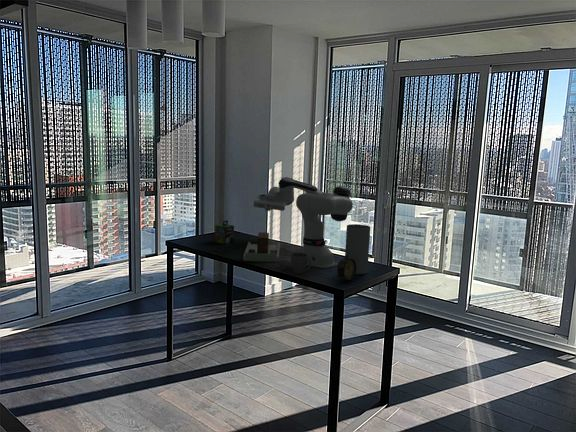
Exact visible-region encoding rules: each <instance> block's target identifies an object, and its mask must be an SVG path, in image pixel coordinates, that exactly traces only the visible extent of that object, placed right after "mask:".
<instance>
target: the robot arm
mask: <svg viewBox="0 0 576 432" xmlns="http://www.w3.org/2000/svg"><path fill="white" fill-rule="evenodd" d="M295 189H296V190H301V191H303V192H305V193H300V194H299V195H297V197H296V199H295ZM350 195H351V191H350V188H349V187H347V186H343V185H339V186H335V187H334V188H333V193H330V192H326V191H325V192H324V191H321V190H320V189H319V188H318V187H317V186H315V185H312V184H310V183H307V182H303V181H299V180H296V179H293V178H291V177H288V176H285V177H282V178H281V179H280V180H279V181H278V186H273V187H271V188H270V189H269V191H268V192H267V193H264V194H258V196H257V197H256V198H255V199H254V201H253V207H254V208H259V209H264V211H267V212H270V211H272V210H274V211H275V210H276V211H285V210H286V208H285V207H286V206H290V205H291V204H293V203H294V201H295V205H296V208H297V209H298V210H299V212H300V214H301V216H302V219H303V237H302V243H303V246H302V251H301V253H305V254H307V255H308V259H310V260H311V267H315V268H321V269H330V268H333V267H338V264H339V262H337V261H335V256H334V253H333V252H332V251H331V249H329V247H328V246H327V245H326V242H328V240H327V239H326V240H325V238H324V229H325V228H324V227H325V225H324V222H323V221H322V220H321V218H320V217H319V216H330V218H331V219H332V220H334V221H335V222H343V221H346V220H347V218H348V214H349V213H350V212H351V211H352V210H353V207H354V204H353V200H351V197H350ZM306 266H309V262H307V265H306Z"/></svg>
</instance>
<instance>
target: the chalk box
mask: <svg viewBox="0 0 576 432" xmlns="http://www.w3.org/2000/svg"><path fill="white" fill-rule="evenodd" d="M228 223H229V220H228V219H227V220H224V221H223V222H222V223H221V224H217V225H215V226H214V243H217V244H221V245H228V244H232V243H234V237H235V233H234V232H235V225H233V224H228Z"/></svg>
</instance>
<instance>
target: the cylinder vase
mask: <svg viewBox="0 0 576 432" xmlns="http://www.w3.org/2000/svg"><path fill="white" fill-rule="evenodd" d="M345 232H346V233H345V248H344V249H345V251H344V252H346V255H348V258H350V259H353V260H354V261H355V263H356V272H355V274H357V275H359V274H362V275H365V274H368V270H369V269H368V267H369V255H370V254H369V253H370V239H371V238H370V237H371V226H370V225H367V224H357V223H354V224H347V225H346V231H345ZM346 250H348V251H349V254H348V251H346ZM344 258H346V256H345V255H344Z"/></svg>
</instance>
